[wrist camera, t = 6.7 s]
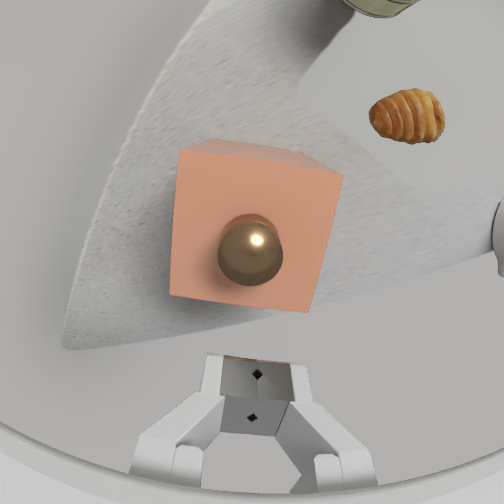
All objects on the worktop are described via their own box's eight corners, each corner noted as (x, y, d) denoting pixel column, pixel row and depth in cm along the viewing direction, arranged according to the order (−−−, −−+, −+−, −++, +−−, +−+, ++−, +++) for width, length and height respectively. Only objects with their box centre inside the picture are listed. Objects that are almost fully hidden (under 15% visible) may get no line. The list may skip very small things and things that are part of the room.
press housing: (301, 152, 33) (343, 175, 18) (285, 235, 37) (308, 313, 22) (211, 138, 32) (179, 149, 17) (201, 223, 36) (169, 294, 21)
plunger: (298, 167, 28) (335, 200, 16) (282, 244, 31) (302, 322, 19) (214, 154, 27) (185, 177, 15) (204, 233, 30) (177, 306, 18)
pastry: (372, 148, 33) (385, 151, 29) (361, 93, 30) (373, 89, 26) (435, 140, 32) (452, 142, 28) (426, 88, 29) (442, 86, 26)
